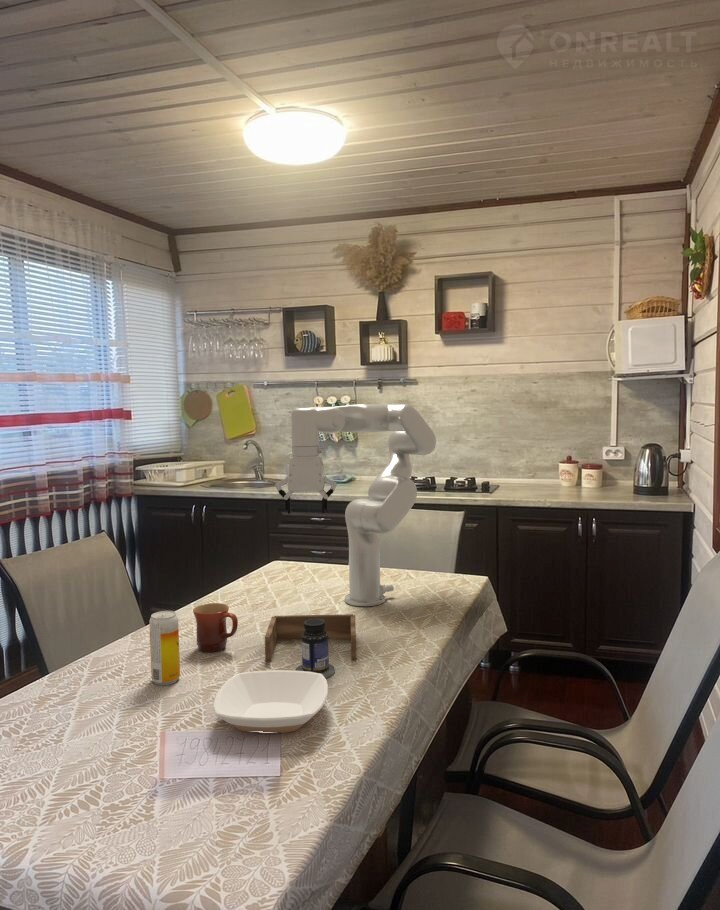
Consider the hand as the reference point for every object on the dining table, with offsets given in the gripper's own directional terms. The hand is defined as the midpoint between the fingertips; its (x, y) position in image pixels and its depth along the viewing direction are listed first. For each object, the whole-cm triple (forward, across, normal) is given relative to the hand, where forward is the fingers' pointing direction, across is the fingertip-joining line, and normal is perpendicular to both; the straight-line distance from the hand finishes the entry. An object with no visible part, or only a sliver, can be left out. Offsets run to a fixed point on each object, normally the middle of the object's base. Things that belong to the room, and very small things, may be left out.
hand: (306, 512), depth 186 cm
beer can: (+31, +29, +41) cm, 59 cm away
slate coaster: (+30, -4, +38) cm, 49 cm away
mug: (+31, +22, +23) cm, 44 cm away
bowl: (+31, +4, +60) cm, 67 cm away
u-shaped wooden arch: (+30, -2, +24) cm, 39 cm away
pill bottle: (+30, -4, +38) cm, 49 cm away
